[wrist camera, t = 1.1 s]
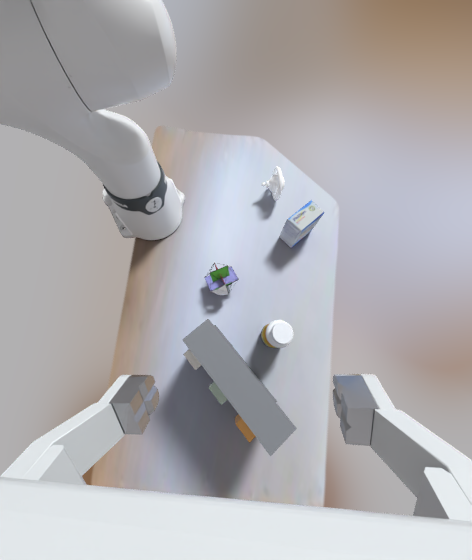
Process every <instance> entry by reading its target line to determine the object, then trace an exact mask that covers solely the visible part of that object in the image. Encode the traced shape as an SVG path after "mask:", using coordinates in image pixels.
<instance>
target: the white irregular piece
mask: <svg viewBox="0 0 472 560" xmlns="http://www.w3.org/2000/svg"><path fill="white" fill-rule="evenodd" d="M284 184H285V182H284V178H283V177H282V172H281V169H280V167H276V168H275V169H274V172H273V176H272V177H271V178H270V180H269V182H268V180H267V181H266V184H265V183H264V182H263V183H262V186H265V185H266V188H268V187H269V189H270V191H271V192H272V196H273V199H274V200H275V201H277V200H278V199H279V198H280V195H281V191H282V190H283V189H284Z"/></svg>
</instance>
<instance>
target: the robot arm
mask: <svg viewBox="0 0 472 560" xmlns="http://www.w3.org/2000/svg"><path fill="white" fill-rule="evenodd" d="M176 57H177V51H176V40H175V35H174V30H173V26H172V23H171V20H170V17H169V15H168V12H167V10H166V8H165V5H164V3H163V2H162V0H0V124H2V125H7V126H11V127H14V128H18V129H21V130H25V131H28V132H31V133H33V134H36V135H38V136H40V137H43V138H45V139H47V140H49V141H51V142H53V143H55V144H58V145H59V146H61V147H63V148H65V149H66V150H68V151H70V152H71V153H73V154H74V155H76V156H77V157H78V158H80V159H81V160H82V161H83V162H84V163H86V165H87V166H88V167H89V168H90V169H91V170H92V171H93V172H94V174H95V175H96V176H97V177H98V178H99V179H100V181H101V182H102V183H103V186H104V190H103V192H102V193H103V196H104V197H103V198H102V199H103V201H104V202H105V204H106V205H107V206H108V207H109V209H110V211H111V213H112V215H113V218H114V220H115V222H116V224H117V226H118V228H119V231H120V233H121V234H122V236H123V237H125V238H133V237H137V238H141V239H145V240H158V239H162V238H165V237H167V236H169V235H170V234H172V233H173V232H174V231H175V230H176V229H177V228H178V226H179V225H180V223H181V220H182V206H183V203H184V201H185V196H184V194H183V193H182V192H180V191H179V190H178V189H176V187H175V185H174V183H173V181H172V179H169V178H168V177H167V176H165V174H164V171H163V169H162V168H161V166H160V164H159V163H158V161H157V160H156V157H155V155H154V152H153V150H152V147H151V144H150V142H149V139H148V137H147V135H146V134H145V132H144V131H143V130H142V129H141V128H140V127H139V126H138V125H137V124H136V123H135V122H133V121H132V120H131V119H129V118H127V117H125V116H123V115H121V114H118V113H114V112H111V111H107V110H105V109H106V108H110V107H115V106H119V105H124V104H128V103H133V102H137V101H141V100H143V99H145V98H148V97H150V96H151V95H154V94H156V93H157V92H159V91H161V90H163V89H165V88H166V87H168V86H169V85H170V84H171V82H172V79H173V76H174V73H175V68H176ZM124 228H126V229H125V230H123V229H124ZM154 383H155V380H154V377H153V376H151V375H122V376H120V377H119V378H118V379H117V380H116V381H115V383H114V384H113V385H112V386H111V387H110V389H109V390H108V391H107V392H106V393H105V395H104V396H103V397H102V398H101V400H100V401H99V402H98V403H94V404H92V405H91V406H89V407H88V408H86V409H85V410H83V411H81V412H80V413H78V414H77V415H75V416H74V417H72V418H70V419H69V420H67V421H66V422H64V423H63V424H61V425H59V426H58V427H56V428H55V429H53V430H51V431H50V432H48V433H47V434H45V435H43V436H42V437H40V438H39V439H37V440H35V441H34V442H33V443H32V444H31V445H30V446H29V447H28V448H27V449H26V450H25V451H24V452H23V453H22V454H21V455H20V456H19V457H18V458H17V459H16V460H15V462H14V463H12V465H11V466H10V467H9V468H8V469H7V470H6V471H5V472H4V473H3V474H2V475H1V476H0V560H472V460H471V459H469V458H468V457H466V456H465V455H464V454H462V453H461V452H459V451H458V450H457V449H455V448H454V447H452V446H451V445H450V444H448V443H447V442H445V441H444V440H442V439H441V438H440V437H438V436H437V435H435V434H434V433H432V432H431V431H430V430H428V429H427V428H426V427H424V426H422V425H421V424H420V423H418V422H417V421H415V420H414V419H413V418H411V417H410V416H409V415H407V414H406V413H404V412H403V411H401V410H396V409H395V407H394V405H393V404H392V402H391V400H390V399H389V397H388V395H387V394H386V392H385V390H384V389H383V387H382V385H381V384H380V382H379V380H378V379H377V377H376V376H375V375H374V374H360V375H359V374H347V375H346V374H343V375H334V376H333V383H334V386H335V389H334V390H333V400H334V406H335V410H336V414H337V416H338V417H339V418H340V421H341V422H340V427H341V430H342V434H343V437H344V440H345V443H346V444H352V445H366V446H371V448H372V449H373V450H374V451H375V452H376V453H377V455H378V456H379V457H380V458H381V459H382V460H383V461H384V462H385V463H386V464H387V465H388V466H389V468H390V469H391V470H392V471H393V472H394V473H395V474H396V475H397V476H398V477H399V478H400V480H401V481H402V482H403V483H404V484H405V485H406V486H407V487H408V488H409V489H410V490H411V491H412V493H413V494H414V495H415V496H416V497H417V502H416V506H415V510H414V514H413V516H411V515H400V514H389V513H379V512H367V511H358V510H347V509H336V508H326V507H315V506H305V505H294V504H283V503H273V502H262V501H252V500H241V499H231V498H220V497H209V496H199V495H188V494H177V493H166V492H156V491H145V490H134V489H124V488H113V487H103V486H92V485H86V483H85V481H84V480H83V478H82V475H83V474H84V473H85V472H86V471H87V470H88V469H89V468H90V467H92V466H93V465H94V464H95V463H96V462H97V461H98V460H99V459H100V458H101V457H102V456H103V455H104V454H105V453H106V452H107V451H108V450H110V449H111V448H112V447H113V446H114V445H115V444H116V443H117V442H118V441H119V440H120V439H121V438H122V437H123V436H124V434H143V432H144V430H145V428H146V426H147V424H148V423H149V421H150V417H149V415H150V414H151V413H153V412H154V411H155V409H156V407H157V405H158V401H159V392H158V389H157V388H156V387H155V386H154Z"/></svg>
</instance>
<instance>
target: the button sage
mask: <svg viewBox="0 0 472 560" xmlns="http://www.w3.org/2000/svg"><path fill="white" fill-rule="evenodd" d="M209 389H210V391H211V392H212V393H213V395H214V396H215V397H216V399H217V400H218V401H219V403H220V404H221V405H222V404H223V403H224V402H225V401H227V400H228V399H227V398H226V397H225V395H224V394H223V393H222V391H221V390H220V389H219V387H218V386H217V385H216V384H215V382H214V381H213V382H212V383H211V384H210V386H209Z"/></svg>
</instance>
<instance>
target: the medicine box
mask: <svg viewBox="0 0 472 560" xmlns="http://www.w3.org/2000/svg"><path fill="white" fill-rule="evenodd" d="M323 214H324V212H323V211H322V210H321V209H320V208H319V207H318V206H317V205H316V204H315V203H314V202H313V201H312V200H311V201H309V202H308V203H307V204H306V205H304V206H303V207H302V208H301V209H300V210H298V211H297V212H296V213H295V214H293V215H292V216H291V217H290V218H288V219H287V221H286V223H285V225H284V227H283V229H282V232H281V234H280V236H279V237H280V238H281V239H282V240H283V241H284V242H285V243H286V244H287V245H288V246H289V247H290V248H292V247H293V246H294V245H295V244H297V243H298V242H299V241H300V240H301V239H302V238H303V237H305V236H306V235H307V234H308V233H309V232H310V231H311V230H312V229H313V228H314V226H315V225H316V224H317V222H318V221H319V219H320V218H321V217H322V215H323Z"/></svg>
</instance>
